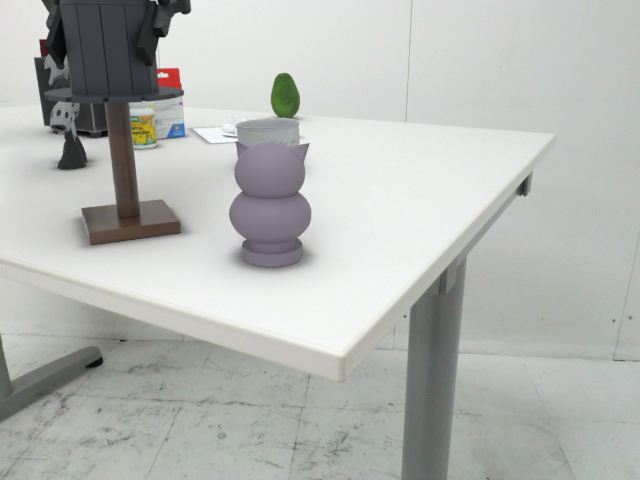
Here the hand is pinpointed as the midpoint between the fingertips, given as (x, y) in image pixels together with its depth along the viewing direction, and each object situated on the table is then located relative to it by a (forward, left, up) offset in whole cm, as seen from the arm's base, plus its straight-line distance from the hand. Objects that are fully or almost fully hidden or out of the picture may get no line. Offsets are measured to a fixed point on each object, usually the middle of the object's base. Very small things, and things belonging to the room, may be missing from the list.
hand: (99, 56), depth 59 cm
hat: (-3, +2, -4) cm, 5 cm away
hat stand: (-3, +2, -20) cm, 20 cm away
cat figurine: (+13, +14, -20) cm, 27 cm away
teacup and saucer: (-61, +36, -20) cm, 73 cm away
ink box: (-63, +18, -20) cm, 68 cm away
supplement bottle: (-53, +12, -20) cm, 58 cm away
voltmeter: (-77, +6, -20) cm, 80 cm away
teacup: (-27, +30, -20) cm, 45 cm away
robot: (-41, -2, -20) cm, 46 cm away
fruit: (-79, +54, -20) cm, 97 cm away
